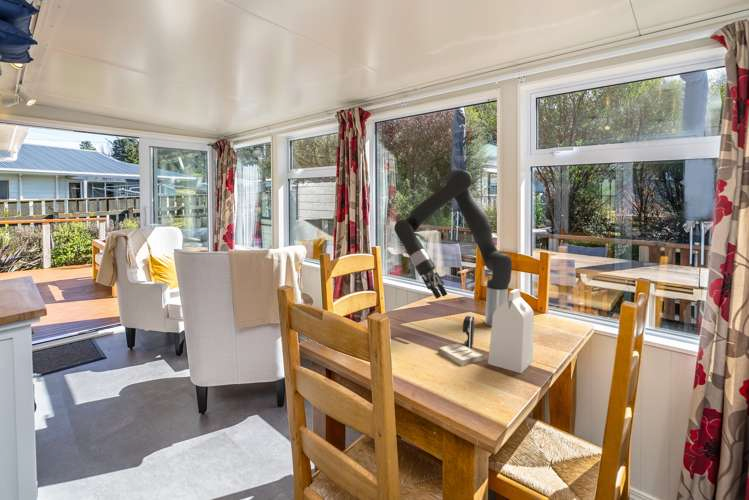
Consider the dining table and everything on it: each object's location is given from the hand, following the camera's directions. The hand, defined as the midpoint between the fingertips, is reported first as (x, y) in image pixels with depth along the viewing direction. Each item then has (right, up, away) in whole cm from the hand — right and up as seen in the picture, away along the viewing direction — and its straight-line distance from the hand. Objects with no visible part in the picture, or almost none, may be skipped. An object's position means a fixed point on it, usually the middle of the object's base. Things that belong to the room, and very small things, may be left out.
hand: (442, 296), depth 158 cm
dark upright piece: (+9, -19, -5) cm, 22 cm away
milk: (+20, -21, -21) cm, 36 cm away
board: (+4, -20, -16) cm, 26 cm away
